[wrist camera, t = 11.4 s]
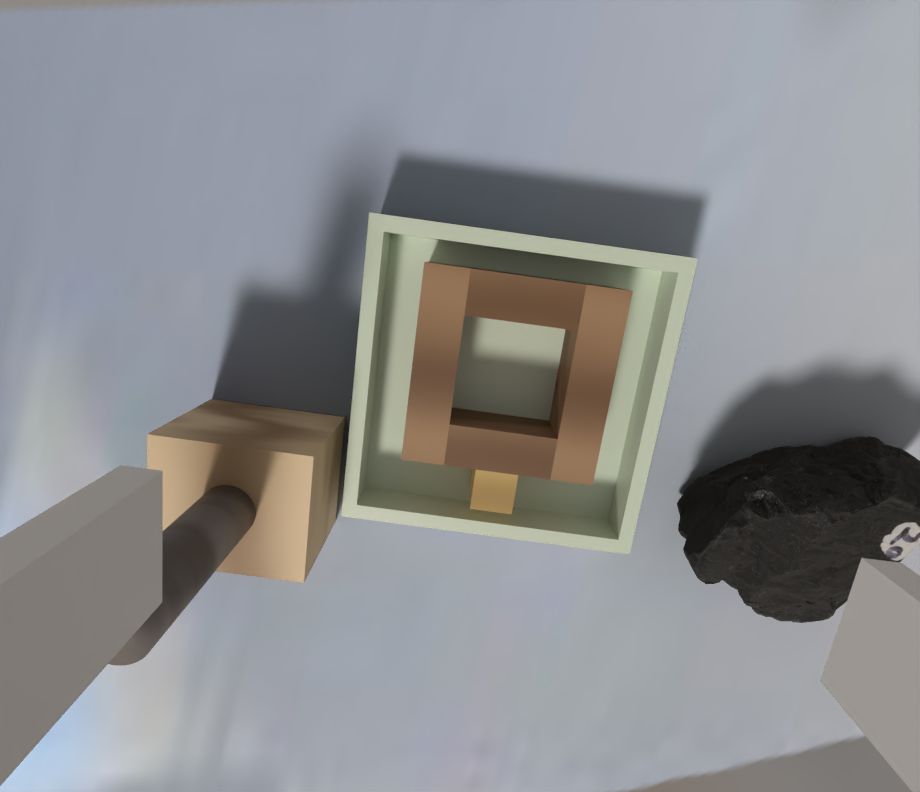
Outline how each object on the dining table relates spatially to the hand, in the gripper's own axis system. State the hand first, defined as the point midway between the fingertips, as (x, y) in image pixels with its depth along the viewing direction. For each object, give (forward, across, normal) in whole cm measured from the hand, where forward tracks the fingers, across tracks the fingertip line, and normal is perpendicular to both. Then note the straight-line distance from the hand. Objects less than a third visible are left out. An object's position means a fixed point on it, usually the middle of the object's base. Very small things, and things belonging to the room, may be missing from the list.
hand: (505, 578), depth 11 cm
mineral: (+19, +17, -5) cm, 26 cm away
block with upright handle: (+19, -10, -6) cm, 22 cm away
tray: (+19, +1, 0) cm, 19 cm away
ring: (+18, +1, +1) cm, 18 cm away
